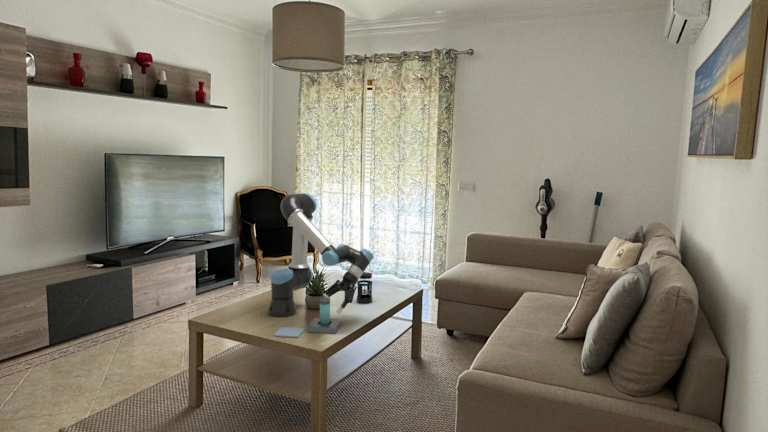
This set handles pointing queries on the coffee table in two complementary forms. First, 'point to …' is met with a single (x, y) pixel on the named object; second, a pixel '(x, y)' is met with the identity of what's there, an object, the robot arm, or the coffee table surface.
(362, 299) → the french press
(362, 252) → the robot arm
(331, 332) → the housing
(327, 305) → the plug
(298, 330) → the mat
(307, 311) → the coffee table surface
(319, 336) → the coffee table surface
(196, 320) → the coffee table surface
